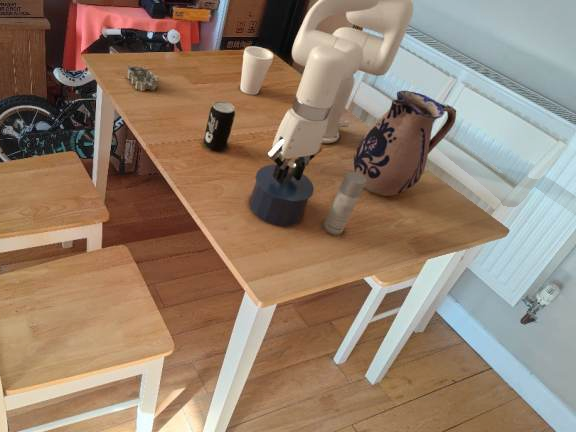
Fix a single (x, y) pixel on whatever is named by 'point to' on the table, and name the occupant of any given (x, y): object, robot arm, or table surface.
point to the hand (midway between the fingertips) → (286, 177)
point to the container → (344, 202)
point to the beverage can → (219, 125)
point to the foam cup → (254, 69)
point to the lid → (284, 184)
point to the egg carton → (142, 78)
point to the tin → (275, 208)
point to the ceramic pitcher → (400, 143)
